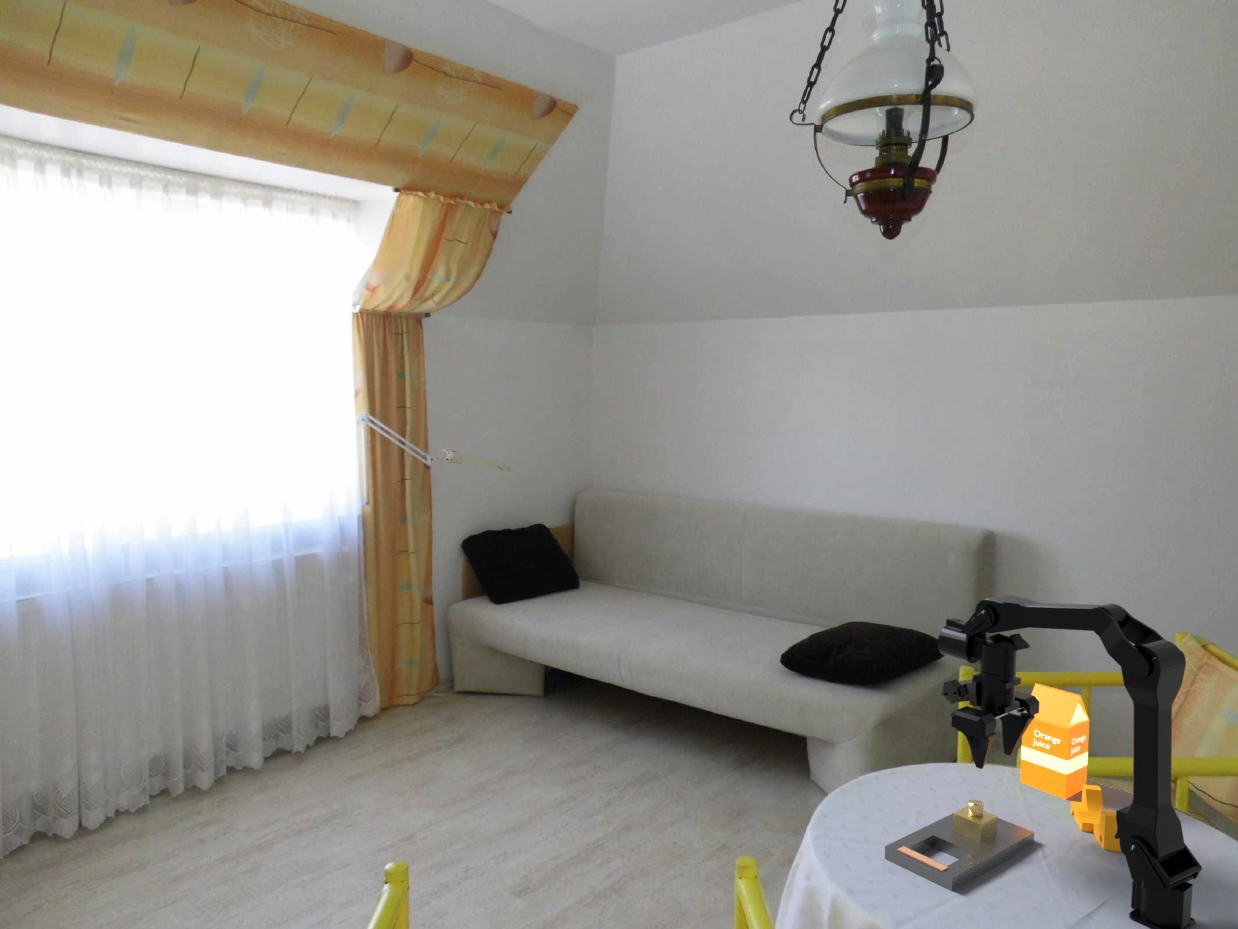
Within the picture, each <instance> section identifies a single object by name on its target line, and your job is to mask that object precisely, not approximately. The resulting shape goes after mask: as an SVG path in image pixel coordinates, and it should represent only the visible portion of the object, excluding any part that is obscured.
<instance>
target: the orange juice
mask: <svg viewBox="0 0 1238 929" xmlns="http://www.w3.org/2000/svg"><path fill="white" fill-rule="evenodd" d="M1030 695H1033V696H1035V697H1036V698H1037V700H1038V701H1039V702H1040V703H1039V713H1037V714H1035V715H1034V716H1035V718H1034V719H1033V720H1032V721H1031V723H1030V725H1029V726H1028V728H1027V729H1026V731H1025V732H1024V734H1023V736H1022V737H1021V746H1020V748H1021V749H1020V778H1019V781H1020V783H1022V784H1024V785H1027V786H1030V787H1032V788H1035V789H1037V790H1039V791H1042V792H1045V793H1047V794H1050V795H1052V796H1055V797H1058V798H1059V799H1060V798H1061V800H1062V799H1063V800H1064V801H1065V800H1067V799H1069V798H1071V797H1072V796H1074V795H1076V794H1077V793H1079V792H1082V786H1083V784H1085V785H1087V776H1088V762H1089V761H1088V760H1089V736H1090V718H1089V716H1088V713H1087V710H1086V707H1085V703H1084V702H1083V699H1082V696H1081V694H1077V693H1074V692H1070V691H1067V690H1063V689H1059V688H1056V687H1051V686H1049V685H1045V684H1042V683H1037V682H1035V683H1034V686H1033V690H1032V691H1031V694H1030Z"/></svg>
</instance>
